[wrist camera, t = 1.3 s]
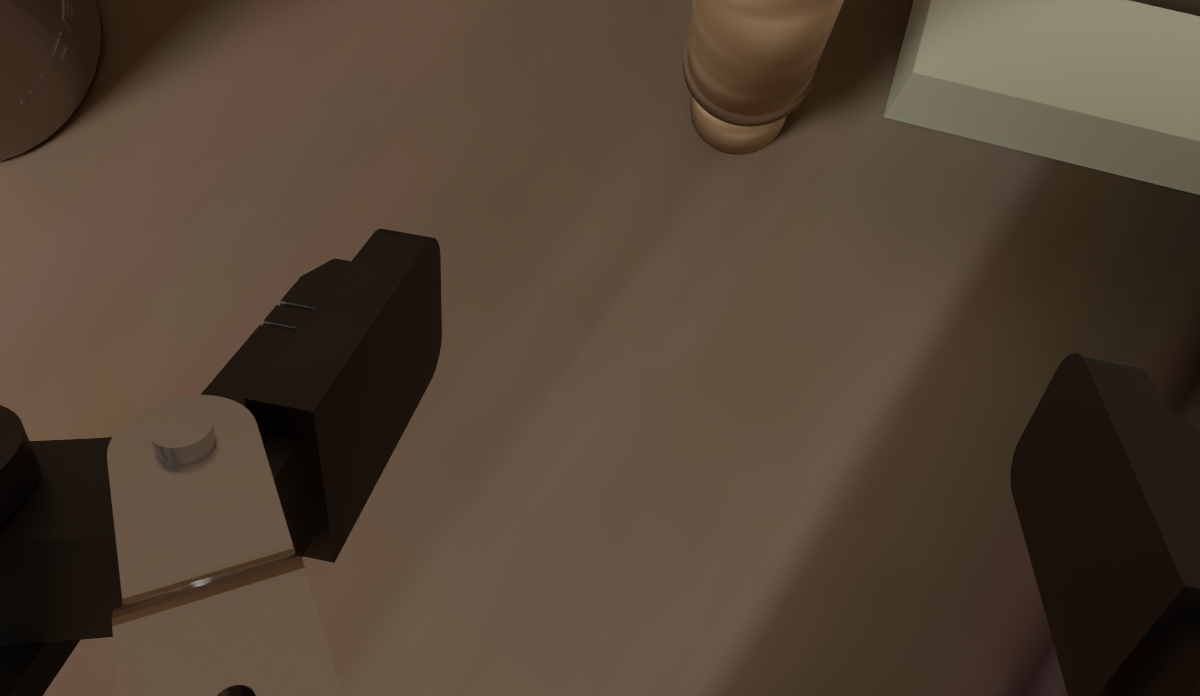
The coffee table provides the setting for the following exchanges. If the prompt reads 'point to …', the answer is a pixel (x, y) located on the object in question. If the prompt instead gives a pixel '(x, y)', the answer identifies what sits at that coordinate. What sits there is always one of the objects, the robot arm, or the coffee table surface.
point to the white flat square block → (1059, 82)
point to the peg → (752, 66)
